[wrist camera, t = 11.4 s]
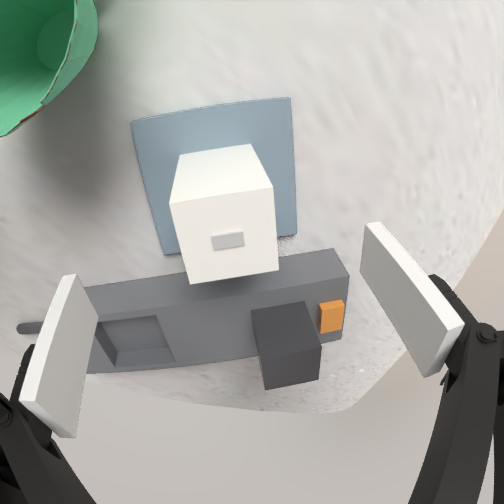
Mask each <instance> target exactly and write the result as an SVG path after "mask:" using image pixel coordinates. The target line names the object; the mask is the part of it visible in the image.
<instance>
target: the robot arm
mask: <svg viewBox="0 0 504 504" xmlns="http://www.w3.org/2000/svg"><path fill="white" fill-rule="evenodd" d="M360 273H361V275H362V276H363V278H364V279H365V281H366V282H367V284H368V286H369V287H370V289H371V290H372V292H373V293H374V295H375V297H376V298H377V300H378V301H379V303H380V305H381V306H382V308H383V309H384V311H385V313H386V314H387V316H388V317H389V319H390V321H391V322H392V324H393V326H394V327H395V329H396V331H397V332H398V334H399V336H400V337H401V339H402V341H403V342H404V344H405V346H406V348H407V349H408V351H409V353H410V355H411V356H412V358H413V360H414V361H415V363H416V365H417V367H418V368H419V370H420V372H421V374H422V376H423V377H424V378H426V377H428V376H431V375H433V374H435V373H438V372H440V370H441V368H442V367H443V365H444V363H446V365H447V367H448V368H449V369H448V371H447V373H446V374H445V376H444V378H443V379H442V381H441V383H440V385H443V383H444V382H445V383H444V388H443V393H442V397H441V402H440V406H439V410H438V414H437V418H436V422H435V426H434V430H433V433H432V436H431V440H430V443H429V446H428V450H427V453H426V456H425V459H424V462H423V465H422V468H421V471H420V474H419V477H418V480H417V482H416V485H415V487H414V490H413V493H412V495H411V498H410V500H409V503H408V504H477V501H478V497H479V494H480V490H481V486H482V483H483V479H484V475H485V471H486V466H487V462H488V457H489V451H490V446H491V441H492V435H493V436H494V498H493V504H504V331H496V329H494V328H493V327H492V326H491V325H488V324H486V323H478V322H477V320H476V319H475V318H474V317H473V315H472V314H471V313H470V311H469V310H468V309H467V308H466V307H465V305H464V304H463V303H462V301H461V300H460V299H459V298H457V295H456V294H455V293H454V291H452V289H451V288H450V287H449V285H448V284H447V283H446V282H445V281H444V280H443V279H441V278H440V277H438V276H437V275H435V274H433V275H429V276H427V275H426V274H425V272H424V271H423V270H422V269H421V268H420V266H419V265H418V264H417V263H416V262H415V261H414V259H413V258H412V257H411V256H410V255H409V254H408V252H407V251H406V250H405V249H404V248H403V247H402V246H401V244H400V243H399V242H398V241H397V240H396V239H395V238H394V237H393V236H392V234H391V233H390V232H389V231H388V230H387V229H386V228H385V227H384V226H383V225H382V223H381V222H374V223H367V224H365V231H364V240H363V249H362V257H361V265H360ZM97 321H98V315H97V313H96V311H95V309H94V307H93V305H92V303H91V302H90V300H89V298H88V296H87V294H86V292H85V290H84V288H83V286H82V284H81V282H80V280H79V278H78V276H77V273H76V274H71V275H65V276H63V277H62V279H61V281H60V284H59V286H58V288H57V291H56V293H55V295H54V298H53V300H52V303H51V305H50V308H49V310H48V313H47V315H46V318H45V320H44V323H43V326H42V328H41V331H40V334H39V336H38V339H37V342H36V344H31V345H30V346H29V348H28V349H27V351H26V352H25V353H24V356H23V359H22V362H21V366H20V368H19V371H18V375H17V377H16V380H15V384H14V387H13V390H12V394H11V397H10V401H8V399H7V398H6V397H5V396H4V395H3V394H2V393H0V504H96V502H95V501H94V500H93V498H92V497H91V496H90V494H89V493H88V492H87V490H86V489H85V487H84V486H83V485H82V483H81V482H80V480H79V479H78V477H77V476H76V475H75V473H74V471H73V470H72V468H71V467H70V465H69V464H68V462H67V461H66V459H65V457H64V456H63V454H62V453H61V451H60V449H59V448H58V446H57V444H56V442H55V441H54V440H53V439H52V438H51V434H52V431H53V432H54V433H56V434H57V435H58V436H59V437H62V438H76V433H77V426H78V419H79V412H80V405H81V399H82V393H83V388H84V382H85V377H86V372H87V366H88V361H89V357H90V352H91V347H92V343H93V338H94V334H95V330H96V326H97Z"/></svg>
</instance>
